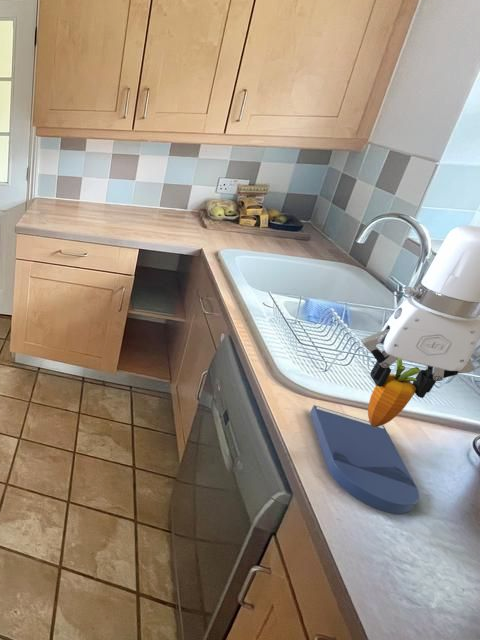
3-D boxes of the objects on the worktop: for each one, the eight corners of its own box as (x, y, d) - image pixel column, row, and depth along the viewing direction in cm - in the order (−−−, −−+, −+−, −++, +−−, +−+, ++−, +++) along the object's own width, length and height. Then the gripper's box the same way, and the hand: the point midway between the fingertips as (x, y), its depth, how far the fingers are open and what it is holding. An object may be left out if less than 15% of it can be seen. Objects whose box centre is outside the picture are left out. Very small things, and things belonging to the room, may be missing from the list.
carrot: (354, 412, 82) (388, 351, 76) (387, 424, 80) (425, 362, 74) (357, 428, 79) (393, 365, 73) (392, 441, 76) (433, 376, 70)
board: (378, 434, 87) (384, 425, 86) (425, 526, 69) (433, 516, 68) (309, 413, 92) (313, 404, 91) (336, 494, 74) (342, 484, 73)
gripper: (388, 297, 68) (343, 383, 76) (537, 327, 61) (471, 418, 69) (372, 279, 74) (332, 360, 82) (506, 304, 67) (448, 390, 75)
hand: (396, 386), depth 75 cm, fingers closed on carrot, 4 cm apart
